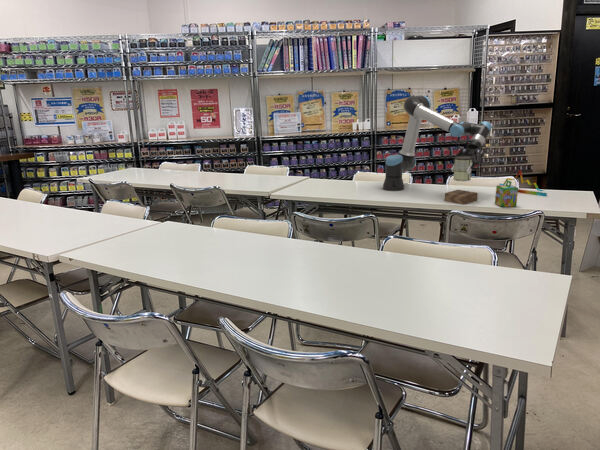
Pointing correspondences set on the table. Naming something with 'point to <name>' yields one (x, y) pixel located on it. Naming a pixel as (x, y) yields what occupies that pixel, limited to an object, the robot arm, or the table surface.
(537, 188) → the chart
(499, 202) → the colourful patterned gift box
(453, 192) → the walnut block
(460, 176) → the coffee can
